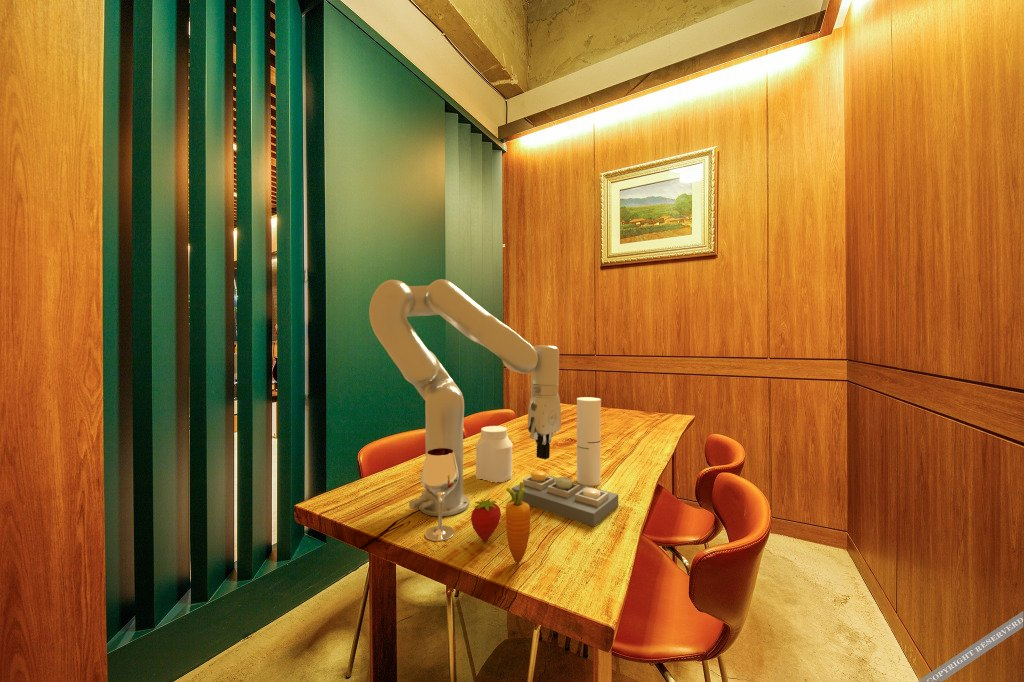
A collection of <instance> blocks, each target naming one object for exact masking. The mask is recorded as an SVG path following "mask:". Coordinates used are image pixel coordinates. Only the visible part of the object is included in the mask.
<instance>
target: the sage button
mask: <svg viewBox="0 0 1024 682" xmlns="http://www.w3.org/2000/svg"><path fill="white" fill-rule="evenodd" d="M555 478H556V487H558V488H561V489H569V488H571V487H572V482H573V479H572V478H570V477H568V476H560V477H555Z"/></svg>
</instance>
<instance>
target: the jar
mask: <svg viewBox="0 0 1024 682" xmlns="http://www.w3.org/2000/svg"><path fill="white" fill-rule="evenodd" d="M475 457H476V458H475V478H477V479H483V480H482V481H484V480H488V481H487V482H489V481H492V482H495V483H494V484H498V483H497V482H502V483H505V482H504V481H506V482H508V481H510V480H512V478H513V442H512V441H511V440H510V438H509V436H508V428H507V427H505V426H501V425H489V426H484V427H481V429H480V438H479V439H478V440H477V442H476V443H475ZM477 479H476V480H477ZM509 479H510V480H509ZM507 480H508V481H507ZM492 482H491V483H492Z"/></svg>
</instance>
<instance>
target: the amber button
mask: <svg viewBox="0 0 1024 682" xmlns="http://www.w3.org/2000/svg"><path fill="white" fill-rule="evenodd" d="M546 475H547V472H546V471H544V470H533V471H532V472H530V476H531V480H533V481H536V482H543V481H545V480H546Z"/></svg>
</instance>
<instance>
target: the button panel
mask: <svg viewBox="0 0 1024 682" xmlns="http://www.w3.org/2000/svg"><path fill="white" fill-rule="evenodd" d="M556 478H557V477H555V476H550V475H547V474H546V480H545V481H543V482H536V481H533V480H531V475H530V476H528V477H526V478H523V479H522V482H523V483H524V489H525V492H524V494H523V498H522V501H523V502H525V503H527V504H528V505H529V507H533V508H536V507H537V509H539V508H540V510H542V511H545V512H548V513H550V514H554V515H556V516H560V517H563V518H566V519H569V520H571V521H572V520H573V521H575V522H579V523H581V524H585V525H587V526H589V527H593V528H594V527H595V525H596V524H600V523H601V521H603V520H604V519H605V518H606V517H607V516H608V515H610V514H611V513H612V512H613V511H614V510H615V509H617V508H618V507H619V494H617V493H614V492H610V491H607V490H603V489H600V488H595V487H593V486H587V485H582V484H580V483H578V482H573V481H572V487H571V488H569V489H561V488H558V487H556ZM519 487H520V483H519V484H518V485H515V486H513V487H511V490H513V491H514V493H517V498H518V494H519ZM587 488H594V489H597V490H599V491H600V497H599V498H598V499H593V498H590V497H586V496H583V490H584V489H587ZM512 499H513V498H512V497H511V500H512ZM616 507H617V508H616ZM612 510H613V511H612ZM611 511H612V512H611ZM610 512H611V513H610ZM609 513H610V514H609ZM604 517H605V518H604ZM603 518H604V519H603ZM602 519H603V520H602ZM596 526H597V525H596Z"/></svg>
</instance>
